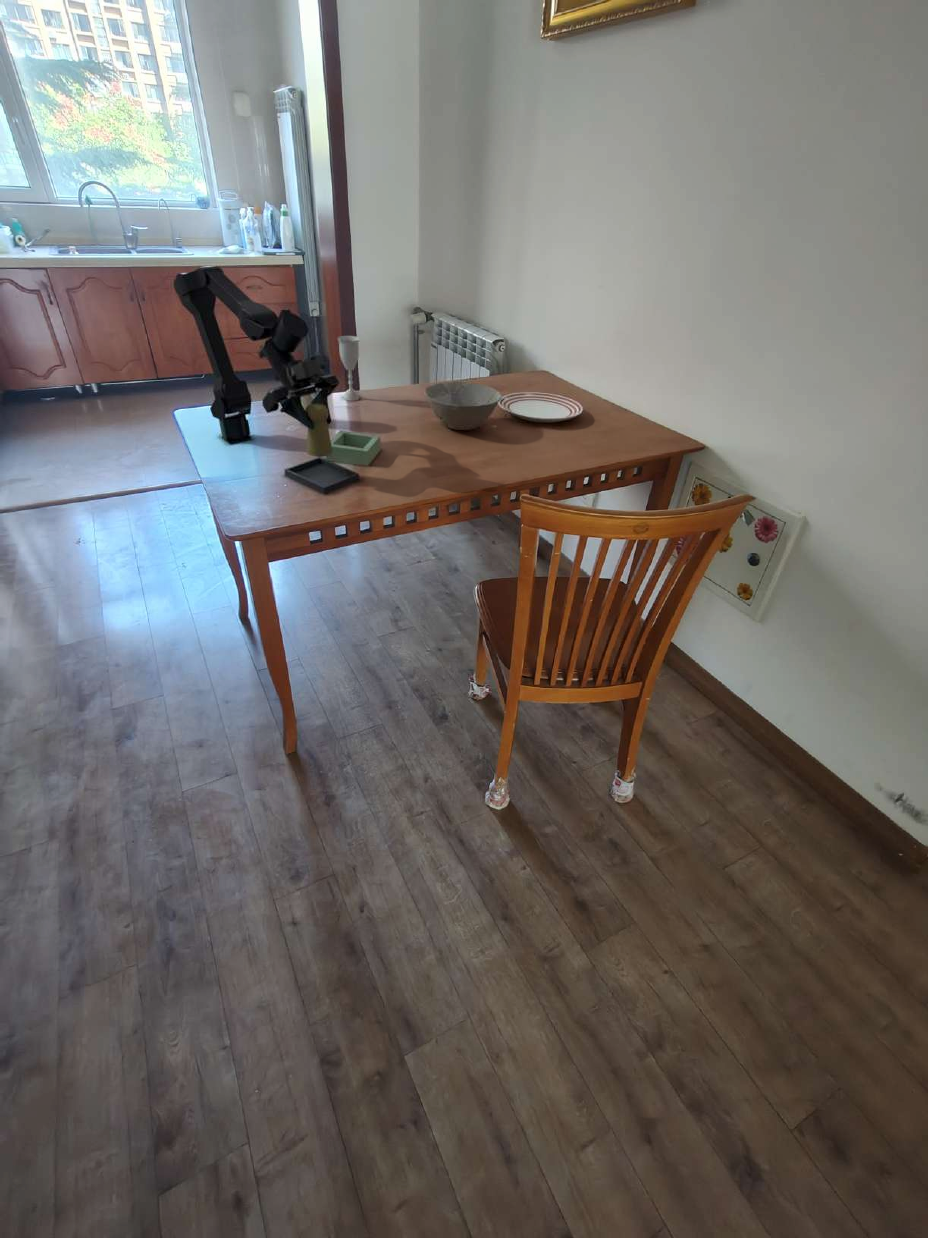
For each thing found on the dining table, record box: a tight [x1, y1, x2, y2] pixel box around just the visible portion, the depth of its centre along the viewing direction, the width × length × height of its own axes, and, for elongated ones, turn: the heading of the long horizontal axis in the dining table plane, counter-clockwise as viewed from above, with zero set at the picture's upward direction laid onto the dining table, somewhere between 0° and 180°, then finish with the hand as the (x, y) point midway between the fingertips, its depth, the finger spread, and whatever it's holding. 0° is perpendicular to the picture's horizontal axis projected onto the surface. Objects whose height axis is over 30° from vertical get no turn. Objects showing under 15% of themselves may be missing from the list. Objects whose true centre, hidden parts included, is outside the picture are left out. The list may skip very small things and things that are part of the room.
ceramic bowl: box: [423, 381, 503, 431], centre depth 176 cm, size 22×23×10 cm
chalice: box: [337, 335, 360, 402], centre depth 187 cm, size 7×7×18 cm
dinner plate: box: [497, 391, 584, 424], centre depth 192 cm, size 27×27×3 cm
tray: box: [284, 457, 360, 495], centre depth 144 cm, size 14×11×2 cm
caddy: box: [325, 429, 381, 467], centre depth 155 cm, size 11×11×4 cm
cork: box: [305, 403, 333, 458], centre depth 137 cm, size 6×6×11 cm
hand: (321, 425), depth 136 cm, fingers closed on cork, 5 cm apart
